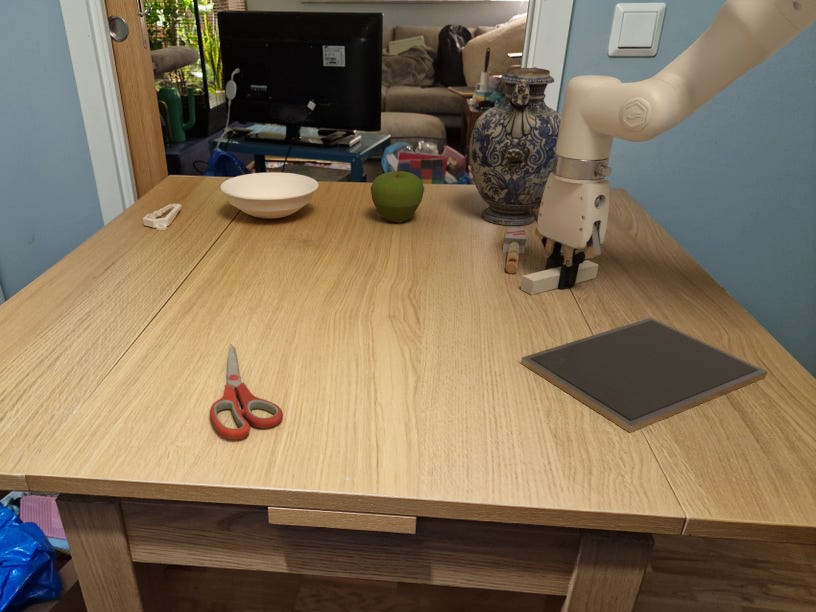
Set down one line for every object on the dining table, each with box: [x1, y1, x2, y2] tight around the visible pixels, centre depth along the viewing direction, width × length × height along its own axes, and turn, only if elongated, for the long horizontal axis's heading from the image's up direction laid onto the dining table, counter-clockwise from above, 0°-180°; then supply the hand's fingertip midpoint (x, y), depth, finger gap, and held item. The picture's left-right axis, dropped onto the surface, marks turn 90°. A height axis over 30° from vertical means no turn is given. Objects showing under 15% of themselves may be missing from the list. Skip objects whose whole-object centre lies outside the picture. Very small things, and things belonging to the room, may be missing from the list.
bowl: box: [219, 171, 319, 220], centre depth 136 cm, size 20×20×6 cm
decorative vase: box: [468, 66, 562, 227], centre depth 129 cm, size 21×19×28 cm
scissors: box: [209, 343, 284, 440], centre depth 78 cm, size 8×21×2 cm, turn 24°
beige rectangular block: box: [520, 259, 599, 296], centre depth 105 cm, size 14×2×2 cm, turn 119°
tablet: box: [520, 317, 768, 433], centre depth 82 cm, size 24×17×1 cm
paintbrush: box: [502, 226, 528, 274], centre depth 117 cm, size 4×3×20 cm
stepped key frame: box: [142, 203, 183, 231], centre depth 134 cm, size 13×5×2 cm, turn 176°
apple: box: [370, 170, 425, 223], centre depth 132 cm, size 11×10×10 cm
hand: (559, 282), depth 106 cm, fingers closed on beige rectangular block, 2 cm apart
